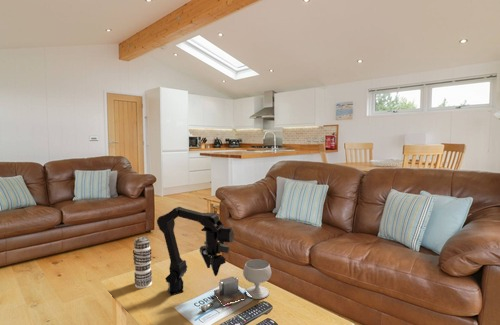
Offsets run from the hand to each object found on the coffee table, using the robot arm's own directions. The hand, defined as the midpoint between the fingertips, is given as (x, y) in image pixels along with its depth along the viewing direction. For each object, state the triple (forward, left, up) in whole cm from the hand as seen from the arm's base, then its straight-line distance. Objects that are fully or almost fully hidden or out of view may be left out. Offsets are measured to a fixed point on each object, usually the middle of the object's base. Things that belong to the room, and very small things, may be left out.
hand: (212, 271), depth 139 cm
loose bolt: (-5, -7, -13) cm, 16 cm away
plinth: (+7, -4, -13) cm, 15 cm away
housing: (+7, -4, -10) cm, 13 cm away
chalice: (+21, -7, -13) cm, 26 cm away
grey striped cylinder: (-27, +30, -13) cm, 42 cm away
